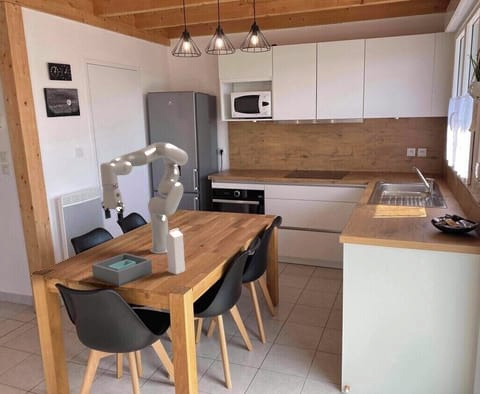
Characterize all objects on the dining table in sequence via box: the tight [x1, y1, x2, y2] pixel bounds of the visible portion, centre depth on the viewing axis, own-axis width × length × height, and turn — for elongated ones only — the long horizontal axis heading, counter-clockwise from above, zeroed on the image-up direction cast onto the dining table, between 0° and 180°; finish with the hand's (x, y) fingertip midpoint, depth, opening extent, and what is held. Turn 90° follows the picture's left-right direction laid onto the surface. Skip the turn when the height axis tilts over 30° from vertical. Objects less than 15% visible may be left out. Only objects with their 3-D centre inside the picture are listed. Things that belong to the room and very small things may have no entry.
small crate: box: [108, 260, 136, 271], centre depth 206 cm, size 11×7×5 cm, turn 144°
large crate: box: [91, 252, 153, 288], centre depth 206 cm, size 20×20×7 cm
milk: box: [166, 227, 186, 275], centre depth 208 cm, size 6×6×22 cm
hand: (114, 219), depth 218 cm, fingers open, 9 cm apart
